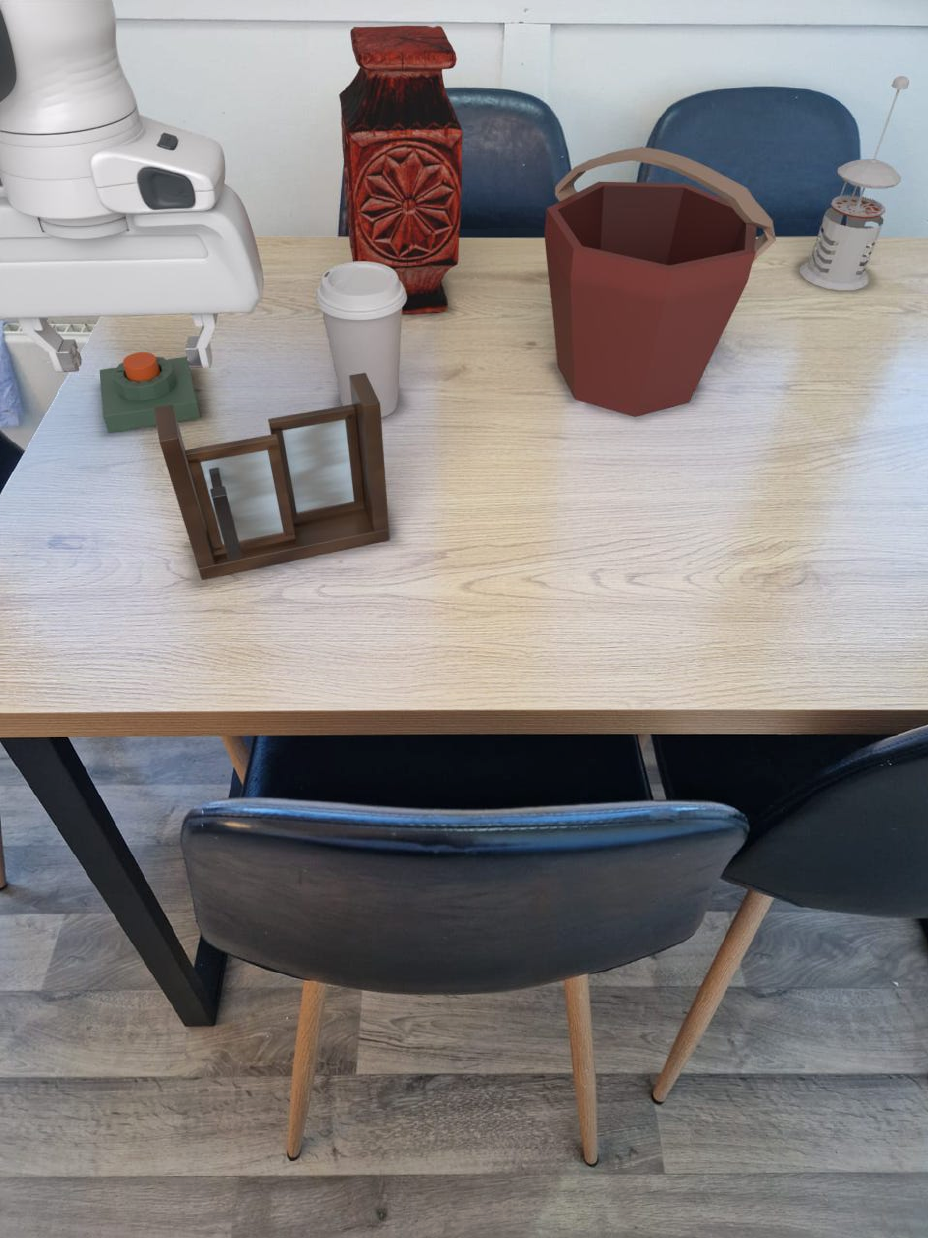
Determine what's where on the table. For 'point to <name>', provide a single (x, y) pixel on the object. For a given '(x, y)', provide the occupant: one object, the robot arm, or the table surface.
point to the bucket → (647, 279)
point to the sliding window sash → (242, 494)
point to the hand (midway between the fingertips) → (136, 366)
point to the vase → (403, 159)
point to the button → (141, 366)
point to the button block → (147, 395)
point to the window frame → (302, 483)
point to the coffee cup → (364, 326)
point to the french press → (852, 223)
